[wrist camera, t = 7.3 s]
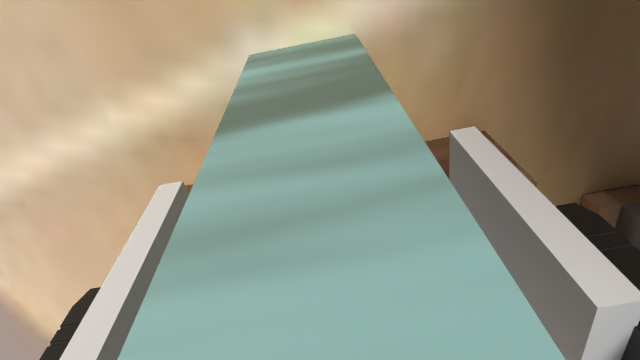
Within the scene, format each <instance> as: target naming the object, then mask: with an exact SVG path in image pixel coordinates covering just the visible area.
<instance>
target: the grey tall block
mask: <svg viewBox="0 0 640 360" xmlns="http://www.w3.org/2000/svg"><path fill="white" fill-rule="evenodd" d="M580 205H581V206H583V207H585V208H587V209H589V210H591V211H593V212H595V213H597V214H599V215H600V216H601V217H602V218H604V219H605V220H606V221H607V222H608V223H609V224H610V225H611V226H613V227H614V228H615V229H616V231H617V233H621V234H622V235H623V236H624V237H625V238H626V239H627V240H629V241H630V242H631V245H632V246H633V247H636V248H638V249H639V250H640V185H637V186H631V187H625V188H619V189H613V190H608V191H602V192H596V193H590V194H585V195H583V196H582V200H581V204H580Z"/></svg>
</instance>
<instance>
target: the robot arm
mask: <svg viewBox="0 0 640 360" xmlns="http://www.w3.org/2000/svg"><path fill="white" fill-rule="evenodd" d="M449 180H450V182H451V183H452V185H453V186H454V188H455V189H456V191H457V193H458V194H459V196H460V197H461V199H462V200H463V202H464V203H465V205H466V206H467V208H468V210H469V211H470V213H471V214H472V216H473V217H474V219H475V220H476V222H477V224H478V225H479V227H480V228H481V230H482V231H483V233H484V234H485V236H486V237H487V239H488V241H489V242H490V244H491V245H492V247H493V248H494V250H495V251H496V253H497V254H498V256H499V258H500V259H501V261H502V262H503V264H504V265H505V267H506V268H507V270H508V271H509V273H510V275H511V276H512V278H513V279H514V281H515V282H516V284H517V285H518V287H519V289H520V290H521V292H522V293H523V295H524V296H525V298H526V299H527V301H528V302H529V304H530V306H531V307H532V309H533V310H534V312H535V313H536V315H537V316H538V318H539V319H540V321H541V323H542V324H543V326H544V327H545V329H546V330H547V332H548V333H549V335H550V336H551V338H552V340H553V341H554V343H555V344H556V346H557V347H558V349H559V350H560V352H561V354H562V355H563V357H564V358H565V360H640V250H639V249H638V248H636V247H633V246H632V245H631V242H630V241H629V240H627V239H626V238H625V237H624V236H623V235H622V234H621V233H617V231H616V229H615V228H614V227H613V226H611V225H610V224H609V223H608V222H607V221H606V220H605V219H604V218H602V217H601V216H600V215H599V214H597V213H595V212H593V211H591V210H589V209H587V208H585V207H583V206H581V205H579V204H577V203H571V204H565V205H559V206H554V205H553V204H552V203H551V202H550V201H549V200H548V199H547V198H546V197H545V196H544V195H543V194H542V193H541V192H540V191H539V190H538V189H537V188H536V187H535V186H534V185H533V184H532V183H531V182H530V181H529V180H528V179H527V178H526V177H525V176H524V175H523V174H522V173H521V172H520V171H519V170H518V169H517V168H516V167H515V166H514V165H513V164H512V163H511V162H510V161H509V160H508V159H507V158H506V157H505V156H504V155H503V154H502V153H501V152H500V151H499V150H498V149H497V148H496V147H495V146H494V145H493V144H492V143H491V142H490V141H489V140H488V139H487V138H486V137H485V136H484V135H483V134H482V133H481V132H480V131H479V130H478V129H477V128H476V127H475V126H474V127H468V128H463V129H458V130H452V131H450V136H449ZM188 196H189V194H188V192H187V190H186V187H185V185H184V183H183V181H180V182H175V183H169V184H164V185H159V187H158V189H157V190H156V192H155V194H154V196H153V197H152V199H151V201H150V203H149V204H148V206H147V208H146V210H145V211H144V213H143V215H142V216H141V218H140V220H139V222H138V223H137V225H136V227H135V229H134V230H133V232H132V234H131V236H130V237H129V239H128V241H127V243H126V244H125V246H124V248H123V250H122V251H121V253H120V255H119V257H118V258H117V260H116V262H115V264H114V265H113V267H112V269H111V271H110V272H109V274H108V276H107V277H106V279H105V281H104V283H103V284H102V286H101V287H99V288H93V289H90V290H89V291H88V292H87V293H86V294H85V295H84V296H83V297H82V298H81V299H80V300H79V301H78V302H77V303H76V304H75V305H74V306H73V307H72V308H71V310H70V311H69V313H68V315H67V316H66V318H65V319H64V321H63V323H62V324H61V326H60V327H61V329H60V330H58V331H57V332H56V334H55V335H54V337H53V339H52V340H51V342H50V347H47V348H46V350H45V351H44V353H43V355H42V357H41V358H40V360H117V359H118V357H119V355H120V353H121V350H122V348H123V346H124V343H125V341H126V339H127V336H128V334H129V332H130V330H131V327H132V325H133V323H134V320H135V318H136V316H137V313H138V311H139V309H140V306H141V304H142V302H143V300H144V297H145V295H146V293H147V290H148V288H149V286H150V283H151V281H152V279H153V277H154V274H155V272H156V270H157V267H158V265H159V263H160V260H161V258H162V256H163V253H164V251H165V249H166V247H167V244H168V242H169V240H170V237H171V235H172V233H173V230H174V228H175V226H176V223H177V221H178V219H179V217H180V214H181V212H182V210H183V207H184V205H185V203H186V200H187V198H188Z"/></svg>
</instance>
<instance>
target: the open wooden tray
mask: <svg viewBox="0 0 640 360" xmlns="http://www.w3.org/2000/svg"><path fill="white" fill-rule="evenodd" d="M481 133H482V134H483V135H484V136H485V137H486V138H487V139H488V140H489V141H490V142H491V143H492V144H493V145H494V146H495V147H496V148H497V149H498V150H499V151H500V152H501V153H502V154H503V155H504V156H505V157H506V158H507V159H508V160H509V161H510V162H511V163H512V164H513V165H514V166H515V167H516V168H517V169H518V170H519V171H520V172H521V173H522V174H523V175H524V176H525V177H526V178H527V179H528V180H529V181H530V182H531V183H532V184H533V185H534V186H535V187H536V185H537V183H536V182H535V181H534V180H533V179H532V178H531V177H530V176H529V175H528V174H527V173H526V172H525V171H524V170H523V169H522V168H521V167H520V166H519V165H518V164H517V163H516V162H515V161H514V160H513V159H512V158H511V157H510V156H509V155H508V154H507V153H506V152H505V151H504V150H503V149H502V148H501V147H500V146H499V145H498V144H497V143H496V142H495V141H494V140H493V139H492V138H491V137H490V136H489V135H488V134H487V133H486V132H485V131H481ZM185 187H186V190H187V192H188V194H189V196H188V198H187V200H186V203H185V205H184V207H183V210H182V212H181V214H180V217H179V219H178V221H177V223H176V226H175V228H174V230H173V233H172V235H171V237H170V240H169V242H168V244H167V247H166V249H165V251H164V253H163V256H162V258H161V260H160V263H159V265H158V267H157V270H156V272H155V274H154V277H153V279H152V281H151V283H150V286H149V288H148V290H147V293H146V295H145V297H144V300H143V302H142V304H141V306H140V309H139V311H138V313H137V316H136V318H135V320H134V323H133V325H132V327H131V330H130V332H129V334H128V336H127V339H126V341H125V343H124V346H123V348H122V350H121V353H120V355H119V357H118V359H117V360H565V358H564V357H563V355H562V354H561V352H560V350H559V349H558V347H557V346H556V344H555V343H554V341H553V340H552V338H551V336H550V335H549V333H548V332H547V330H546V329H545V327H544V326H543V324H542V323H541V321H540V319H539V318H538V316H537V315H536V313H535V312H534V310H533V309H532V307H531V306H530V304H529V302H528V301H527V299H526V298H525V296H524V295H523V293H522V292H521V290H520V289H519V287H518V285H517V284H516V282H515V281H514V279H513V278H512V276H511V275H510V273H509V271H508V270H507V268H506V267H505V265H504V264H503V262H502V261H501V259H500V258H499V256H498V254H497V253H496V251H495V250H494V248H493V247H492V245H491V244H490V242H489V241H488V239H487V237H486V236H485V234H484V233H483V231H482V230H481V228H480V227H479V225H478V224H477V222H476V220H475V219H474V217H473V216H472V214H471V213H470V211H469V210H468V208H467V206H466V205H465V203H464V202H463V200H462V199H461V197H460V196H459V194H458V193H457V191H456V189H455V188H454V186H453V185H452V183H451V182H450V180H449V137H448V138H443V139H437V140H432V141H426V142H425V141H424V140H423V138H422V137H421V135H420V134H419V132H418V131H417V129H416V128H415V126H414V124H413V123H412V121H411V120H410V118H409V117H408V115H407V114H406V112H405V111H404V109H403V107H402V106H401V104H400V103H399V101H398V100H397V98H396V97H395V95H394V94H393V92H392V90H391V89H390V87H389V86H388V84H387V83H386V81H385V80H384V78H383V76H382V75H381V73H380V72H379V70H378V69H377V67H376V66H375V64H374V63H373V61H372V59H371V58H370V56H369V55H368V53H367V52H366V50H365V49H364V47H363V46H362V44H361V42H360V41H359V39H358V38H357V36H356V35H355V34H353V35H348V36H343V37H338V38H333V39H328V40H323V41H318V42H313V43H308V44H303V45H298V46H293V47H288V48H283V49H278V50H273V51H268V52H263V53H258V54H253V55H249V58H248V60H247V62H246V64H245V67H244V69H243V71H242V74H241V76H240V78H239V81H238V83H237V85H236V87H235V90H234V92H233V94H232V97H231V99H230V101H229V104H228V106H227V108H226V111H225V113H224V115H223V117H222V120H221V122H220V124H219V127H218V129H217V131H216V134H215V136H214V138H213V141H212V143H211V145H210V147H209V150H208V152H207V154H206V157H205V159H204V161H203V164H202V166H201V168H200V170H199V173H198V175H197V177H196V180H195V182H194V184H193V185H188V186H185Z"/></svg>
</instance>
